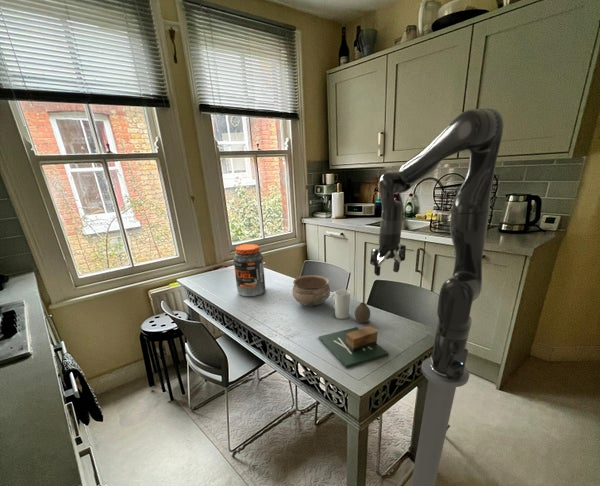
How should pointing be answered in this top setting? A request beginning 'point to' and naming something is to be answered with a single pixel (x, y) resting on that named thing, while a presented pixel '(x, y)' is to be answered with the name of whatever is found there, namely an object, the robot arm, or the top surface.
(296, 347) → the top surface
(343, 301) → the mug
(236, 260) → the supplement tub
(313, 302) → the cooking pot
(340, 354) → the slate board
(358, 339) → the eraser
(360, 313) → the vase
